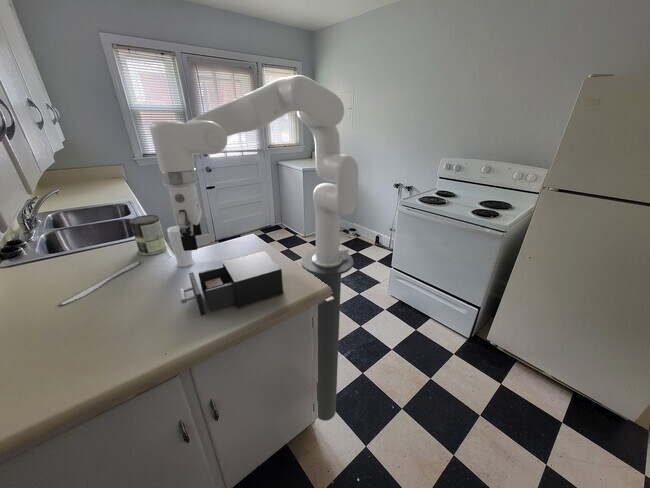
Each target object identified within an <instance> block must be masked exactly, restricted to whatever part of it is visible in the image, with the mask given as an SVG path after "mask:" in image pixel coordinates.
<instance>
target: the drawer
mask: <svg viewBox="0 0 650 488" xmlns="http://www.w3.org/2000/svg"><path fill="white" fill-rule="evenodd" d="M188 276H189V280H190V282H191V287H189V288H188V287H187V288H185V289H184V288H179V289H178V290H177V292H178V296H179V300H180V303H181V304H182V305H183V304H186V303H187V302H188V301H192V300H195V301H196V304H197V308H198V311H199V314H200V317H204V316H206V315H207V314H206V309H205V306H204V302H203V301H204V300H203V297H204V299H205V302H206V304H207V307H208V310H209V311H210V312H212V311H215V310H218V309H220V308H224V307H227V306H231V305H233V304H236V303H237V298H236V292H235V286H234V282H233V281H232V279H231V277H230V275H229V274H228V272H227V270H226V269H225V267H224V266H223V265H222V266H219V267H214V268H210V269H207V270H203V271H199V272H198V277H199V282H200V286H199V284H198V282H197V279H196V276H195V274H194V272H189V273H188ZM217 278H220V279H221V281H222V283H223V285H222V286H218V287H215V288H211V289H208V290H207V289H206V284H205V282H206V281H209V280H213V279H217ZM200 287H201V290H200ZM190 291H192V292H193V296H189V297H187V295H186V293H187V292H190ZM201 291H202V293H201ZM202 294H203V296H202Z"/></svg>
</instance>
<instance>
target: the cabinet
mask: <svg viewBox="0 0 650 488" xmlns="http://www.w3.org/2000/svg"><path fill="white" fill-rule="evenodd" d="M221 263H222V266H224V267H225V269H226V270H227V272H228V274H229V275H230V277H231V279H232V281H233V282H234V286H235V292H236V298H237V303H235V305H236V306H237V308H238V309H239V308H243V307H246V306H249V305H252V304H254V303H255V304H256V303H257V302H258V303H259V302H261V301H263V300H267V299H269V298H272V297H276V296H279V295H282V294H284V286H283V272H282V268H281V267H280V266H279V265H278V263H276V261H274V259H273V258H272V257H271V256H270V255H269V254H268V253H267V252H266V251H260V252H256V253H252V254H248V255H244V256H239V257H236V258H231V259H227V260H223V261H222V262H221Z"/></svg>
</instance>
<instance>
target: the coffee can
mask: <svg viewBox="0 0 650 488" xmlns="http://www.w3.org/2000/svg"><path fill="white" fill-rule="evenodd" d="M129 225H130V227H131V230H132V233H133V236H134V239H135V243H136V246H137V249H138V253H139V254H140V255H142V256H153V255H156V254H160V253H162V252H164V251H165V250H167V248H168V247H167V244H166V239H165V237H164V233H163V228H162V224H161V220H160V216H159V215H157V214H144V215H140V216H139V215H138V216H135V217H133V218H131V219H130V220H129Z"/></svg>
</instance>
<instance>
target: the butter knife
mask: <svg viewBox="0 0 650 488" xmlns="http://www.w3.org/2000/svg"><path fill="white" fill-rule="evenodd" d="M139 264H140V262H138V261H135V262H133V263H131V264H129V265H127V266H126V267H124V268H122V269H120V270H119V271H117V272H116V273H114V274H112V275H111V276H109V277H107V278H105V279H104V280H102V281H100V282H98V283H97V284H95V285H92V286H91V287H89V288H87V289H85V290H83V291H81V292H80V293H78V294H76V295H74V296H73V297H71V298H69V299H67V300H65V301H63V302H62V303H61V304H60V305H62V306H64V305H66V304H69V303H71V302H74V301H76V300H78V299H80V298H83V297H85V296H88V295H89V294H90V293H92V292H94V291H95V290H97V289H98V288H100V287H101V286H103V285H104V284H105V283H107V282H109V281H110V280H112V279H114V278H115V277H117V276H119V275H120V274H123V273H125V272H127V271H130V270H131V269H133V268H135V267H136V266H138V265H139Z"/></svg>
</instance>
